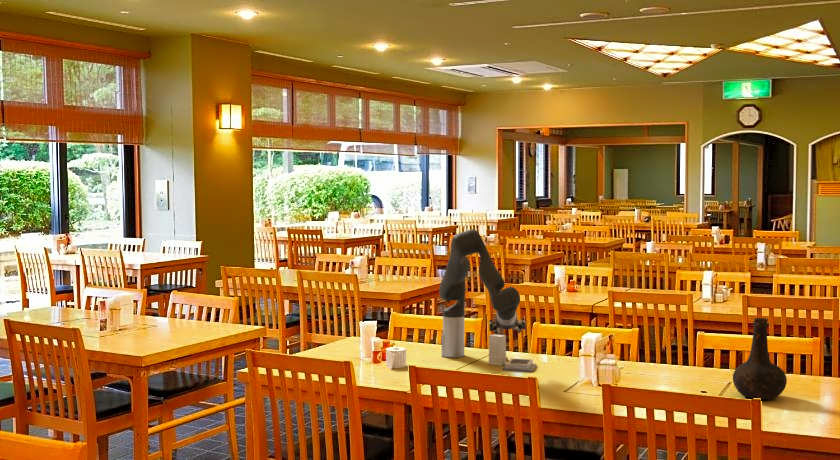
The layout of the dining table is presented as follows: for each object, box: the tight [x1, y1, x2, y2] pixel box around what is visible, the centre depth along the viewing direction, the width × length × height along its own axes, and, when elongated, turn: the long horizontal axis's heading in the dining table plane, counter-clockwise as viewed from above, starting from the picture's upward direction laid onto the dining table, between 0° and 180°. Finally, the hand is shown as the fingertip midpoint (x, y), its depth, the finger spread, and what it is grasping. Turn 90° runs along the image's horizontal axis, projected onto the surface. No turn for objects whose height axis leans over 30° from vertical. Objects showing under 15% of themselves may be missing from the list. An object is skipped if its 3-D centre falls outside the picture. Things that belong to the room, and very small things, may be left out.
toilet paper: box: [385, 346, 407, 370], centre depth 366 cm, size 8×11×7 cm
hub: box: [502, 357, 538, 373], centre depth 364 cm, size 12×12×3 cm
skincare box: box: [488, 333, 507, 366], centre depth 371 cm, size 6×4×12 cm
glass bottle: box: [732, 317, 788, 401], centre depth 316 cm, size 18×18×28 cm
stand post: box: [497, 329, 509, 362], centre depth 379 cm, size 6×6×15 cm
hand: (507, 331), depth 358 cm, fingers open, 8 cm apart
